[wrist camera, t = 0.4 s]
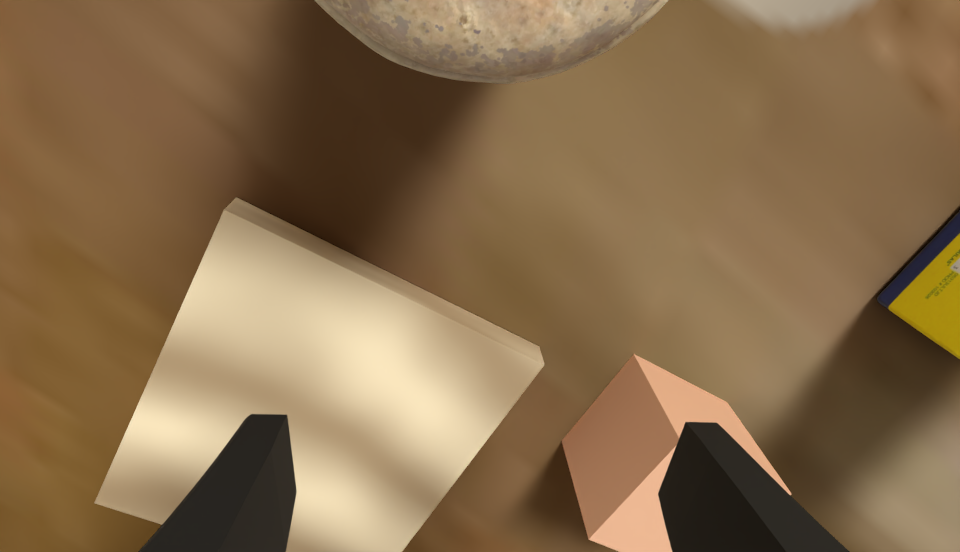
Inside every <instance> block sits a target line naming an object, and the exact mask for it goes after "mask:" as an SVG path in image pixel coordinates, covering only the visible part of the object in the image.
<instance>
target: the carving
mask: <svg viewBox="0 0 960 552" xmlns="http://www.w3.org/2000/svg"><path fill="white" fill-rule="evenodd" d="M315 1H316V2H317V3H318V4H319V5H320V6H321V7H322V8H323V9H324V10H325V11H326V12H327V13H328V14H329V15H330V16H331V17H332V18H333V19H335V20H336V21H337V22H338V23H339V24H340V25H341V26H343V27H344V28H345V29H346V30H348V31H349V32H350V33H351V34H352V35H354V36H355V37H356V38H357V39H359V40H360V41H361V42H363V43H364V44H365V45H366V46H368V47H369V48H370V49H372V50H373V51H375V52H376V53H378V54H380V55H381V56H383V57H385V58H386V59H388V60H390V61H393V62H395V63H397V64H399V65H402V66H405V67H407V68H410V69H413V70H416V71H420V72H423V73H426V74H430V75H433V76H438V77H443V78H448V79H452V80H460V81H470V82H487V83H497V84H511V83H519V82H525V81H530V80H534V79H539V78H543V77H547V76H551V75H554V74H558V73H561V72H564V71H566V70H568V69H571V68H573V67H576V66H578V65H580V64H583V63H585V62H587V61H589V60H591V59H593V58H595V57H597V56H599V55H601V54H603V53H605V52H607V51H609V50H610V49H612V48H614V47H615V46H617V45H618V44H620V43H621V42H623V41H624V40H626V39H627V38H628V37H630V36H631V35H632V34H634V33H635V32H636V31H637V30H639V29H640V28H641V27H642V26H644V25H645V24H646V23H647V22H648V21H649V20H650V19H651V18H652V17H653V16H654V15H655V14H656V13H657V12H658V11H659V10H660V9H661V8H662V7H663V6H664V5H665V4H666V3H667V1H668V0H315Z"/></svg>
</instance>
